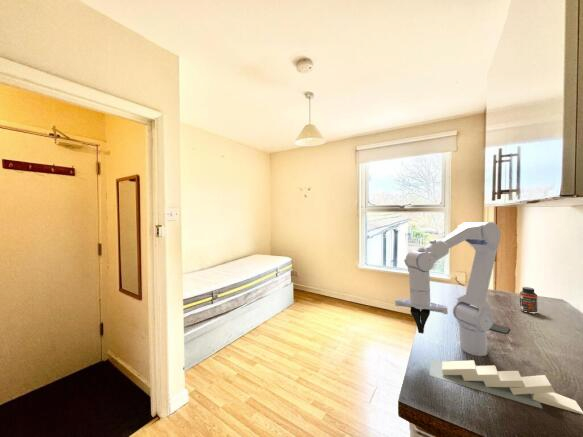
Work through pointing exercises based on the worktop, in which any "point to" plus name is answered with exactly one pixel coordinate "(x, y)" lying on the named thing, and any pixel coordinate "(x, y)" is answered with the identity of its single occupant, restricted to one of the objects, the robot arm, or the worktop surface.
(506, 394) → the board
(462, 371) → the head domino
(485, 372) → the domino
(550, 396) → the domino
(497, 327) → the smartphone
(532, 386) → the domino
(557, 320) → the worktop surface
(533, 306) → the supplement bottle
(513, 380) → the domino
